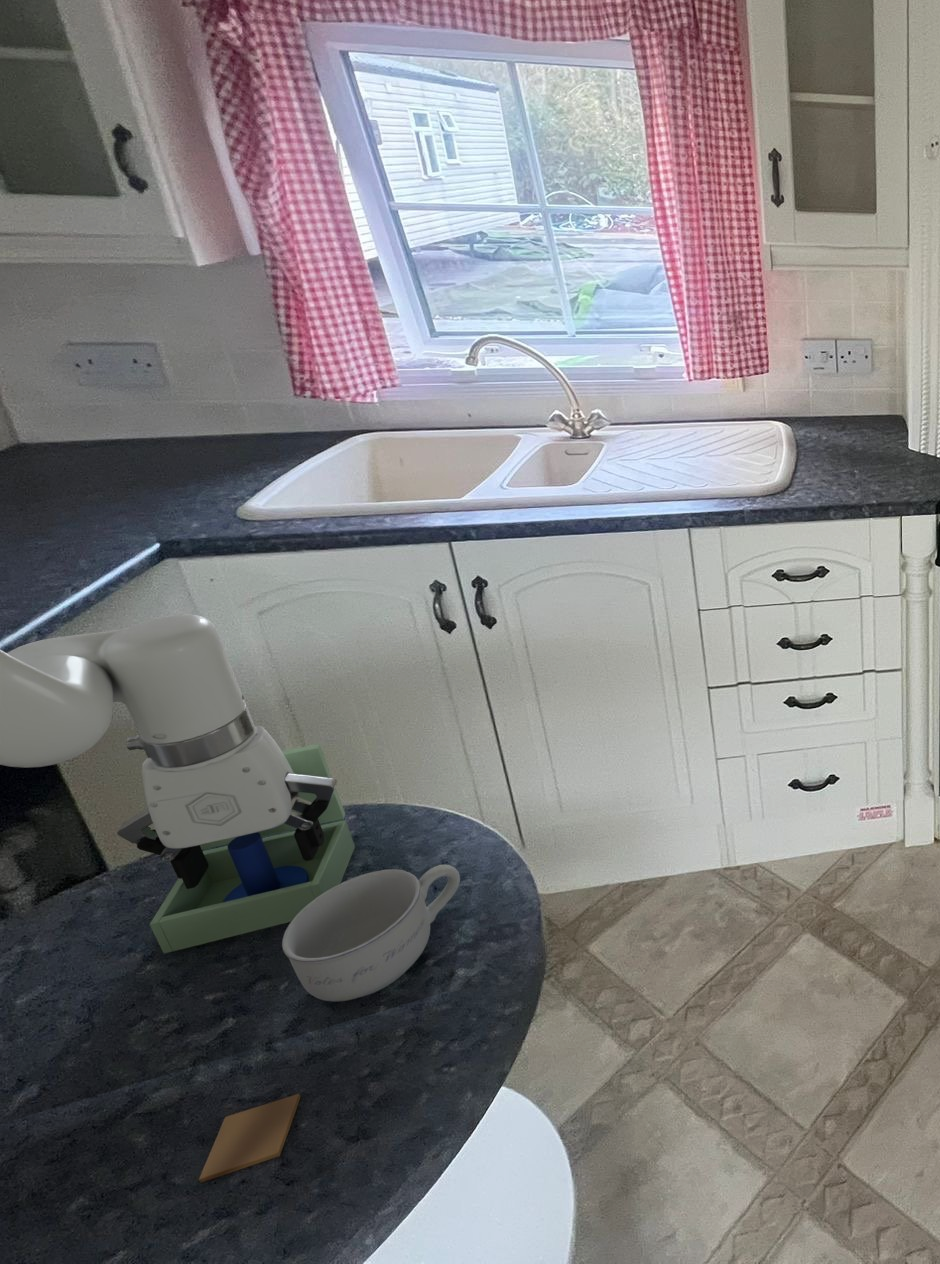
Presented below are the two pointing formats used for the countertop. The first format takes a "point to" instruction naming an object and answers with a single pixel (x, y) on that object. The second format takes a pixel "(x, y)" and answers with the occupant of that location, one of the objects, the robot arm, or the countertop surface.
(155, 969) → the countertop surface
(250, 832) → the robot arm
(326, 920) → the teacup
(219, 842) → the hatch
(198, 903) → the green wooden box
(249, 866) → the blue cylinder on disc
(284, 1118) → the trivet
